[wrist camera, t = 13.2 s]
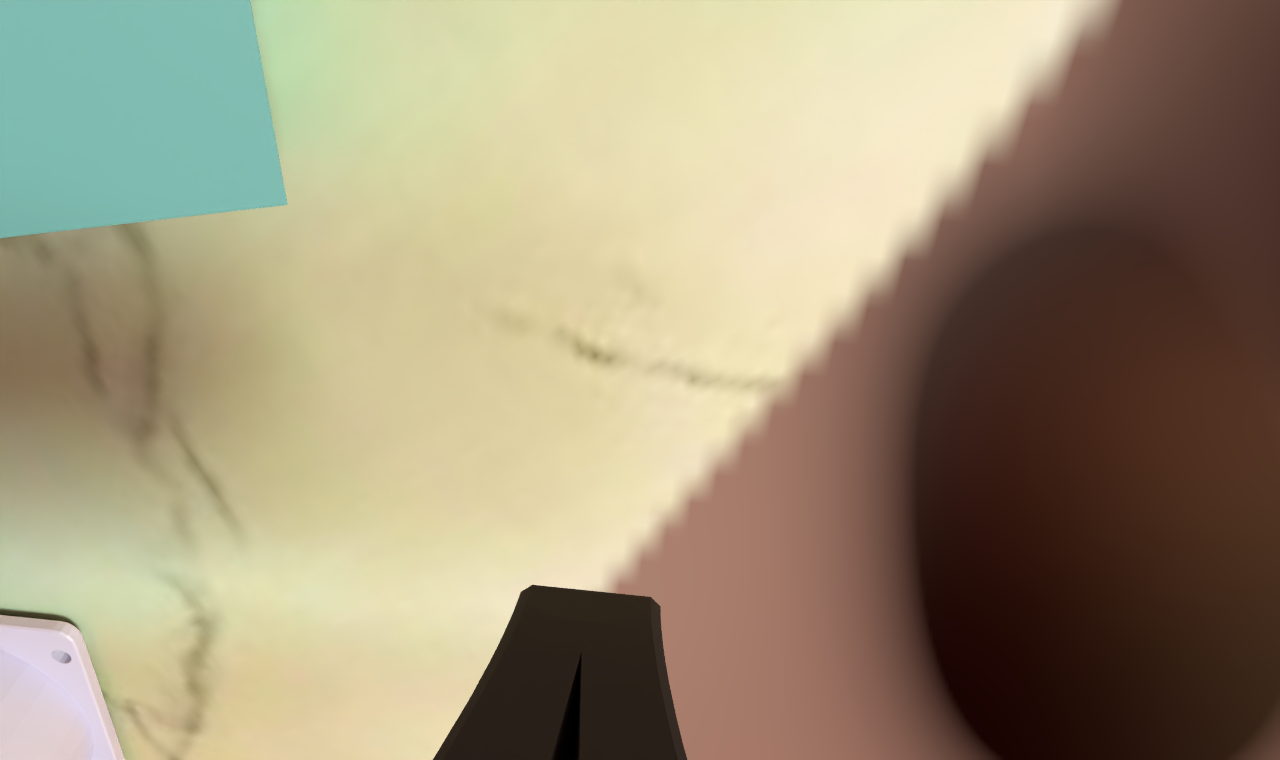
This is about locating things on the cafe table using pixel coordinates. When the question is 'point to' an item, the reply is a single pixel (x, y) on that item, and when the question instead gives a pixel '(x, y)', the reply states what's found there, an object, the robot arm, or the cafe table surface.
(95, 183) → the domino
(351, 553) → the cafe table surface
